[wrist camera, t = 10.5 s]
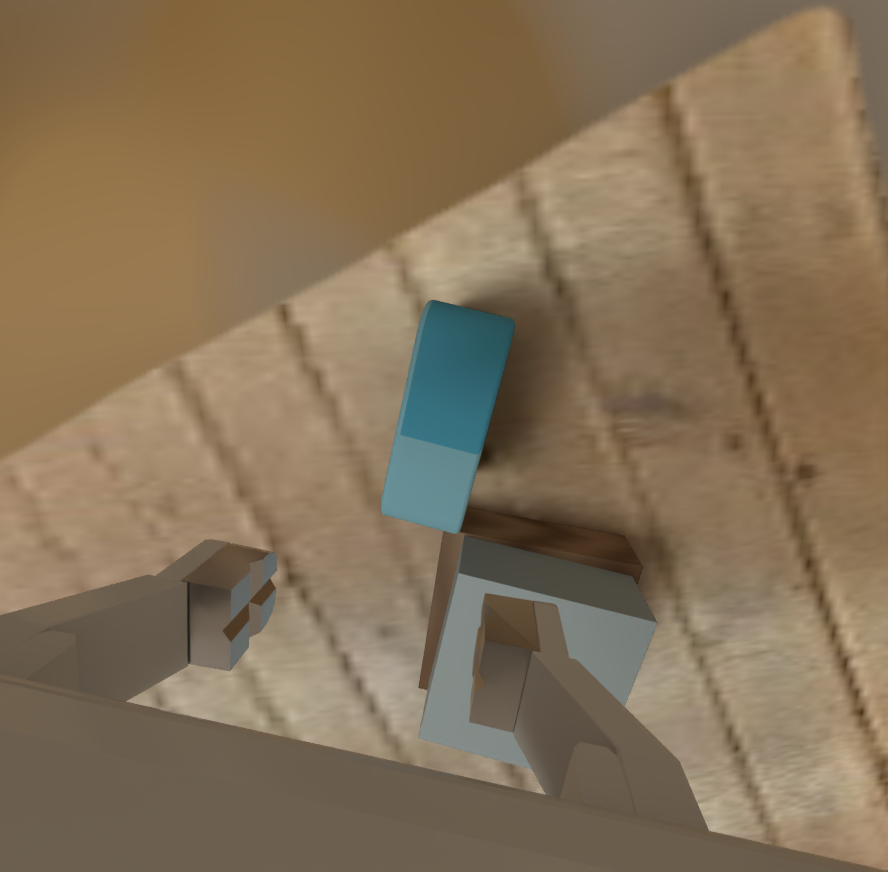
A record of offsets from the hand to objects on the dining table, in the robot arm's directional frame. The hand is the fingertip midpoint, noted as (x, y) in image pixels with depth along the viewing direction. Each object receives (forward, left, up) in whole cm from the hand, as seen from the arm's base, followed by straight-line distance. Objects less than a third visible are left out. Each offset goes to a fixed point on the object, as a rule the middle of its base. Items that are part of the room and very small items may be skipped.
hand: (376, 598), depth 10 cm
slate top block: (-7, +15, -21) cm, 27 cm away
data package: (0, -1, -25) cm, 25 cm away
